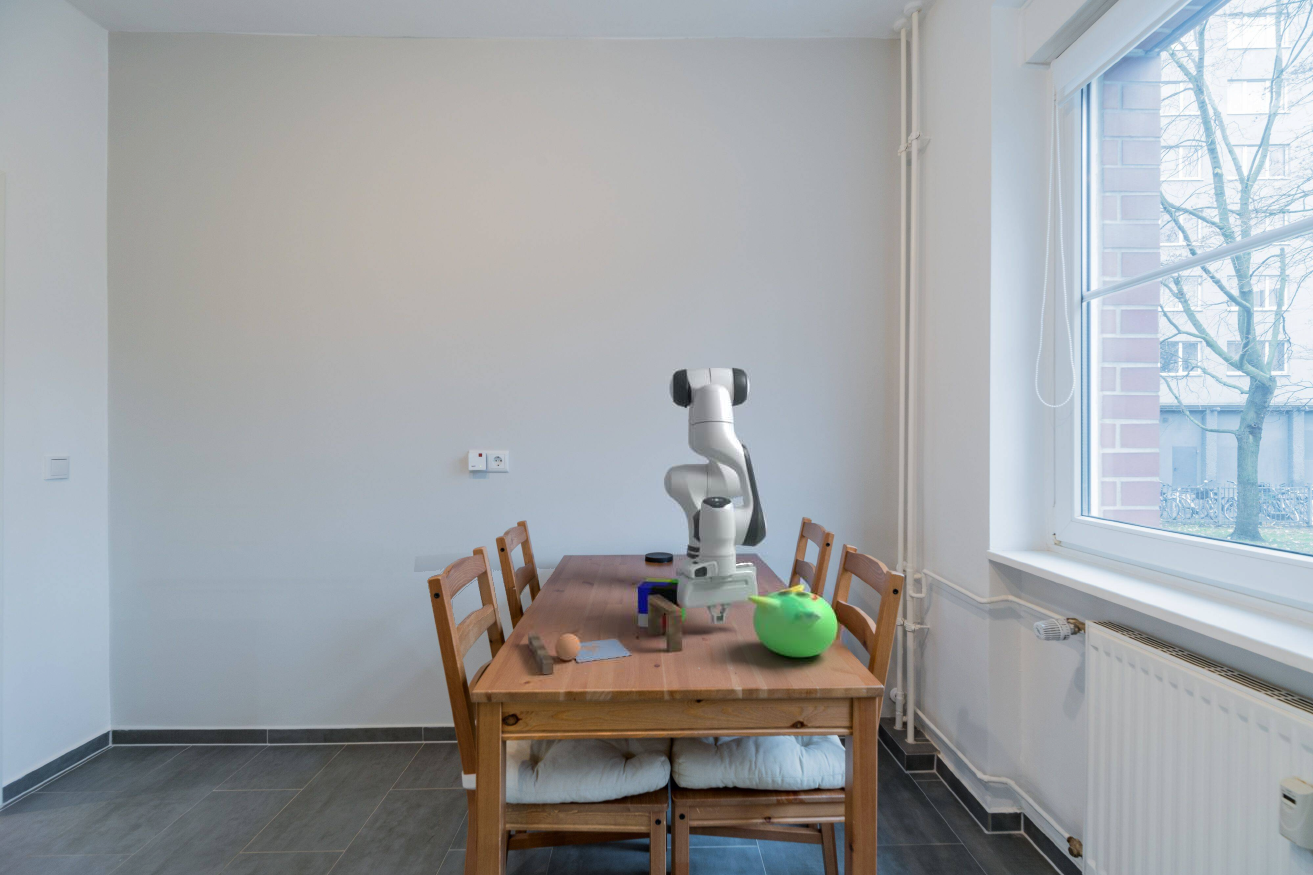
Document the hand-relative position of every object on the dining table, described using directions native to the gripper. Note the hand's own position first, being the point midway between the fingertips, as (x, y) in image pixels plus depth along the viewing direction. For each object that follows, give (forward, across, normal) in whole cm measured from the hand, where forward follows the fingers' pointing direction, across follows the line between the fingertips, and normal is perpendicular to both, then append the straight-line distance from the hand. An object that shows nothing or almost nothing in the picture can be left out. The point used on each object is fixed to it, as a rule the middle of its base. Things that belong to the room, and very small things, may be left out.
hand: (718, 621), depth 154 cm
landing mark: (+3, +30, +1) cm, 30 cm away
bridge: (+3, +14, +1) cm, 14 cm away
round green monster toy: (+3, -9, +20) cm, 22 cm away
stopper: (+2, +43, +1) cm, 43 cm away
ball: (0, +38, +4) cm, 38 cm away
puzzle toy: (+3, +9, -14) cm, 17 cm away
